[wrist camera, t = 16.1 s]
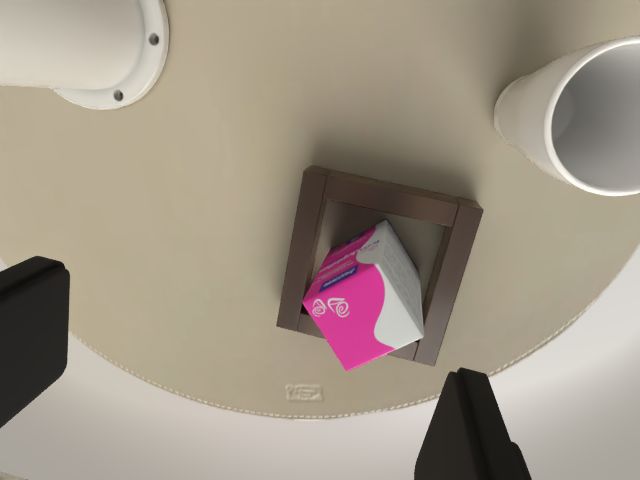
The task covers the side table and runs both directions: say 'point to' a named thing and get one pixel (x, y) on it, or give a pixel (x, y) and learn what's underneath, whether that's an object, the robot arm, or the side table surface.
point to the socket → (395, 200)
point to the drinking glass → (580, 117)
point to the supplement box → (367, 297)
